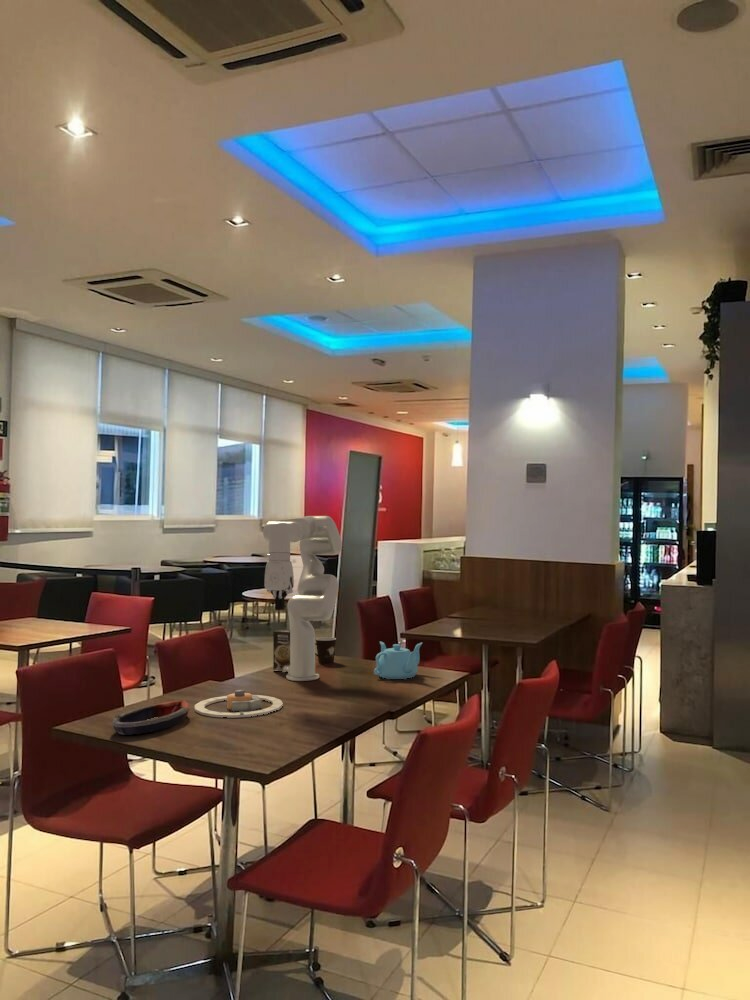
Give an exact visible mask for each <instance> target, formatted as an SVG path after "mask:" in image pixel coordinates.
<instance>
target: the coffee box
mask: <svg viewBox="0 0 750 1000" xmlns="http://www.w3.org/2000/svg"><path fill="white" fill-rule="evenodd" d="M272 632H273V637H272V638H273V641H272V642H273V650H272V651H273V655H272V656H273V657H272V659H273V660H272V662H273V663H272V666H273V670H272V671H274V670H278V671H283V668H284V666H285V665H288V666H290V629H278V630H274V631H272ZM286 672H288V671H286Z"/></svg>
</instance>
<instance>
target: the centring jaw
mask: <svg viewBox="0 0 750 1000" xmlns="http://www.w3.org/2000/svg"><path fill="white" fill-rule="evenodd" d="M257 695H258V694H252V700H251V701H248V700H246V701H232V710H231V712H232V711H233V712H232V713H235V712H234V711H239V712H241V711H243V712H251V711H253V710H254V711H257V710H256V709H258V710H260V709H259V708H261V709H262V700H261V699H258V698H257Z"/></svg>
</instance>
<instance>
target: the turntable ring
mask: <svg viewBox="0 0 750 1000" xmlns="http://www.w3.org/2000/svg"><path fill="white" fill-rule="evenodd" d="M256 695H257V698H258V699H261V701H263V700H265V701H264V702H267V701H268V703H270V702H271V703H270V704H272V705H270V706H269V707H265V708H263V709H262V708H261V709H258V710H254V711H239V712H224V711H223V712H221V711H215V710H209V709H207V708H206V707H207V706H208V705H212V704H214V703H217V702H223V701H224V700H225V701H227V695H223V696H217V697H215V696H214V697H211V698H207V699H203V700H201V701H199V702H198V703H196V704H194V712H195V713H197V714H200V715H201V716H206V717H212V718H223V717H227V719H235V718H236V719H237V718H252V717H257V715H258V716H263V714H264V715H269V714H271V713H270V712H272V713H273V711H275V712H277V711H276V710H278V711H279V710H280V709H281V708H283V707H284V703H283V701H282V699H279V698H277V697H273V696H270V695H269V696H268V695H262V694H256ZM225 701H224V702H225ZM282 706H283V707H282ZM268 713H269V714H268ZM251 716H252V717H251Z"/></svg>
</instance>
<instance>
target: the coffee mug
mask: <svg viewBox="0 0 750 1000" xmlns="http://www.w3.org/2000/svg"><path fill="white" fill-rule="evenodd" d="M336 644H337V638H336V637H331V636H329V637H327V636H326V637H315V646H316V652H317V653H316V652H315V657H316V656H317V661H318V664H320V663H322V664H321V665H330V664H329V663H332V664H334V661H335V654H336Z"/></svg>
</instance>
